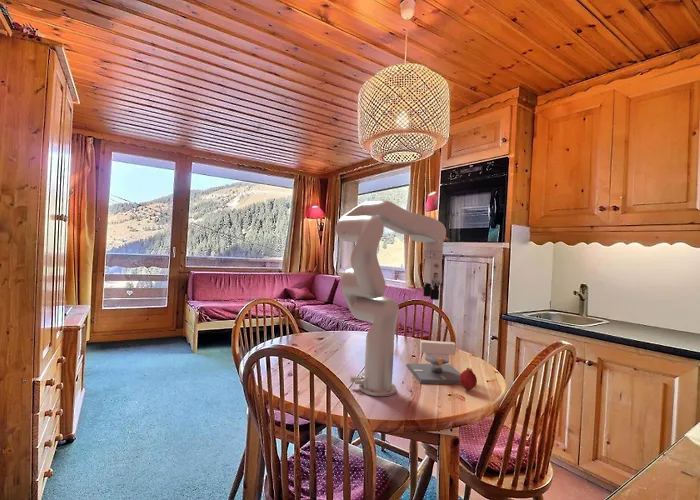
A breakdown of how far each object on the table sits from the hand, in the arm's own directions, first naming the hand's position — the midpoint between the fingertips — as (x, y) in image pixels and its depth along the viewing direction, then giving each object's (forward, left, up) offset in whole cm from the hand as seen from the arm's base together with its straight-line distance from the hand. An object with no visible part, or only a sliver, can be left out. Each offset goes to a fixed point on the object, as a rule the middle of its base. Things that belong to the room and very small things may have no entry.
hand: (430, 297), depth 145 cm
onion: (+8, -21, -30) cm, 37 cm away
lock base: (+2, -6, -29) cm, 30 cm away
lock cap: (+2, -7, -23) cm, 25 cm away
